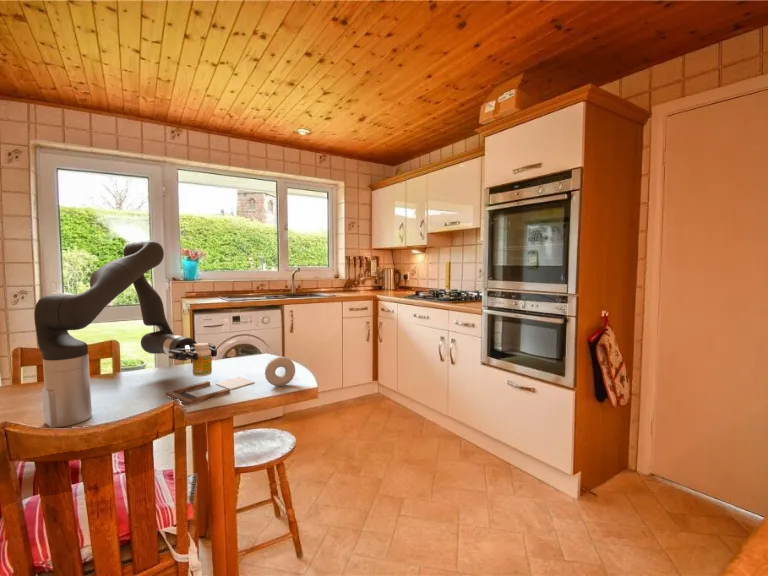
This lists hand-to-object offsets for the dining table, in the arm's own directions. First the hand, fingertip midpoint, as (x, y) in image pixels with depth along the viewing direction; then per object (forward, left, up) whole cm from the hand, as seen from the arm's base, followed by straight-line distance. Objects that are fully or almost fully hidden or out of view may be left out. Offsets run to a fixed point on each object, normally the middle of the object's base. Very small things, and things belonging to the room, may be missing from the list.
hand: (206, 355), depth 120 cm
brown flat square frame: (-1, +3, -13) cm, 13 cm away
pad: (+11, +3, -13) cm, 17 cm away
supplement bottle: (0, +3, -7) cm, 7 cm away
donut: (+19, -11, -13) cm, 26 cm away
